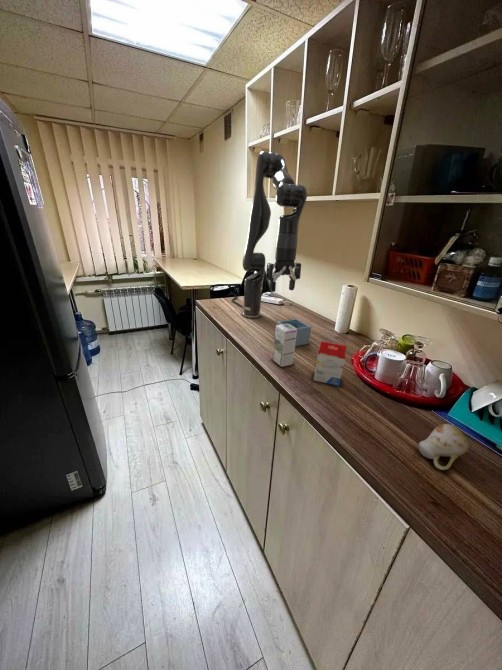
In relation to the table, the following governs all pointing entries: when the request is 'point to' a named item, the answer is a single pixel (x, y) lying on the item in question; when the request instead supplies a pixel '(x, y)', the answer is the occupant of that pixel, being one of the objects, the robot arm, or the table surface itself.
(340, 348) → the ink box
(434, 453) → the mug
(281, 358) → the syrup box
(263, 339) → the table surface
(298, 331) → the tidy
